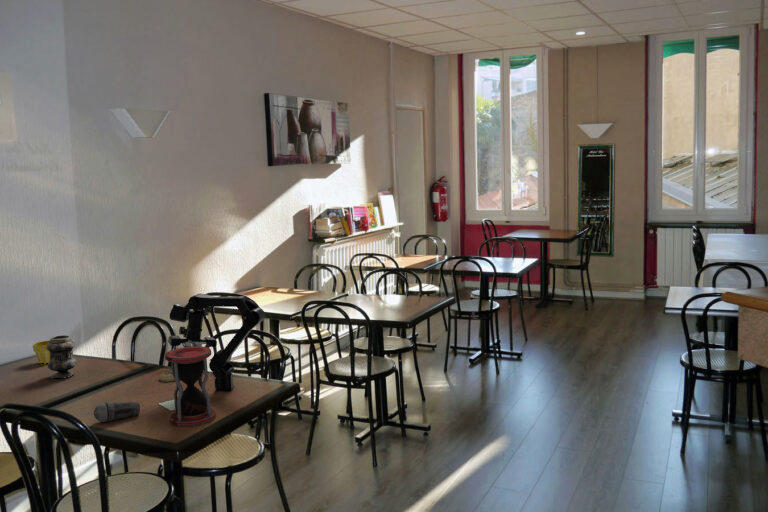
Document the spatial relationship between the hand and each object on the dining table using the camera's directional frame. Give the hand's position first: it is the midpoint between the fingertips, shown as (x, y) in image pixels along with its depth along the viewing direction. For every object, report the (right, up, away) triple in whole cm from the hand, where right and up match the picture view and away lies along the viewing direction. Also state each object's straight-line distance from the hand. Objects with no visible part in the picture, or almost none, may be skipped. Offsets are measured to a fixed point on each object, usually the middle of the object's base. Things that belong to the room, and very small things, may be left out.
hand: (190, 361), depth 293 cm
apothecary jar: (-65, -11, +29) cm, 72 cm away
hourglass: (+10, -16, -33) cm, 38 cm away
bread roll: (-12, -10, +19) cm, 25 cm away
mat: (0, -14, -16) cm, 21 cm away
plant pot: (-84, -8, +53) cm, 100 cm away
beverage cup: (-12, -13, -27) cm, 32 cm away
